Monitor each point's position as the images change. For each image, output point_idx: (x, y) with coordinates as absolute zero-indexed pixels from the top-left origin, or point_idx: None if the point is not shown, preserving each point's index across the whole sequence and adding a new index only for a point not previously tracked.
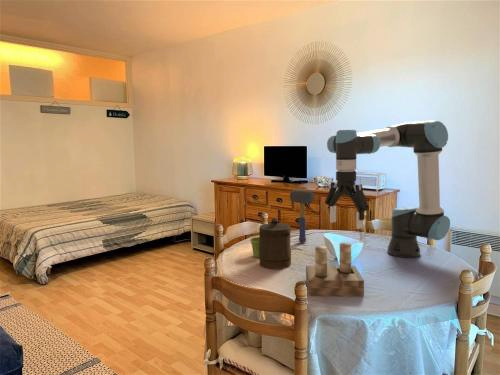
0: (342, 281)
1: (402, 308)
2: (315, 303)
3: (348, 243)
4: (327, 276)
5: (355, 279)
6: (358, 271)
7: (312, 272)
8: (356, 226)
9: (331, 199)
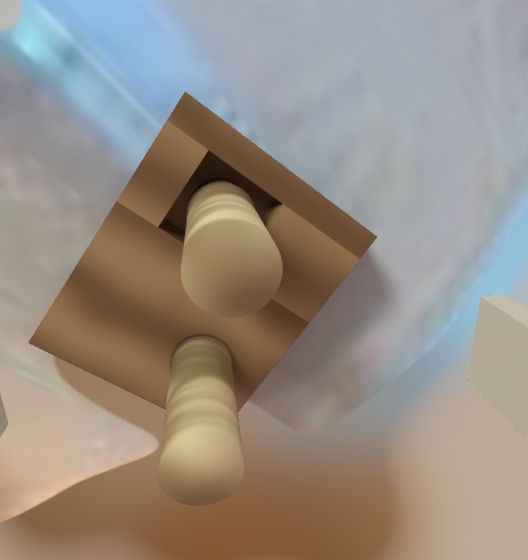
0: (309, 318)
1: (512, 180)
2: (281, 407)
3: (236, 238)
4: (229, 345)
5: (340, 260)
6: (271, 157)
7: (141, 372)
8: (485, 396)
9: None
